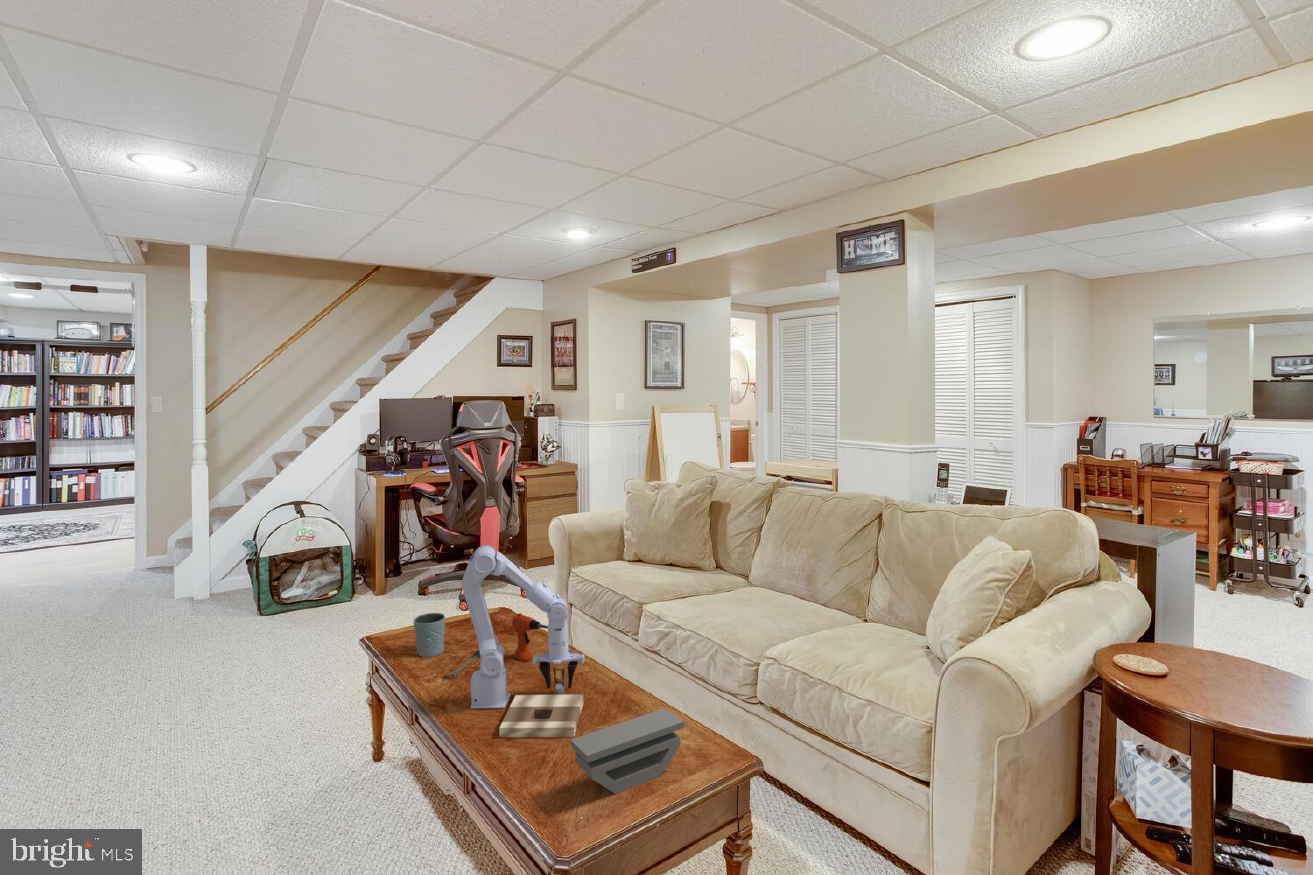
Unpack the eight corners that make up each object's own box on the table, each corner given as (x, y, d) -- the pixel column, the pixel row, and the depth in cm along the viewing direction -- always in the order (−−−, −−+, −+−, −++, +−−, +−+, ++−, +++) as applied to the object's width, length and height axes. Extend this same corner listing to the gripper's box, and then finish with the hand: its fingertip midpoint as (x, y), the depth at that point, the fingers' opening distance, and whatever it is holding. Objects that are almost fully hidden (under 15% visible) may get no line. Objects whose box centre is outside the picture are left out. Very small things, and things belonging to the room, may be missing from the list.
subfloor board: (499, 737, 167) (499, 727, 167) (516, 703, 185) (515, 694, 185) (574, 736, 167) (574, 727, 166) (583, 702, 185) (583, 694, 184)
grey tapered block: (588, 805, 139) (586, 755, 138) (571, 786, 146) (570, 739, 145) (684, 766, 153) (683, 721, 152) (665, 751, 159) (664, 707, 158)
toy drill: (545, 668, 205) (540, 620, 205) (511, 659, 218) (506, 614, 218) (558, 663, 208) (552, 615, 208) (523, 654, 221) (519, 610, 222)
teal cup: (434, 644, 230) (433, 610, 229) (452, 650, 224) (451, 616, 223) (408, 654, 221) (407, 619, 221) (427, 660, 216) (425, 625, 215)
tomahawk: (461, 684, 201) (461, 680, 200) (442, 680, 202) (442, 676, 202) (494, 655, 221) (494, 652, 221) (476, 652, 222) (476, 648, 222)
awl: (553, 697, 188) (552, 670, 188) (555, 692, 191) (554, 665, 191) (564, 697, 188) (563, 670, 188) (565, 692, 191) (565, 665, 191)
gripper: (530, 646, 185) (531, 693, 186) (581, 645, 184) (582, 692, 185) (535, 637, 192) (536, 682, 193) (584, 636, 191) (586, 681, 192)
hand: (559, 686), depth 190 cm, fingers open, 5 cm apart
